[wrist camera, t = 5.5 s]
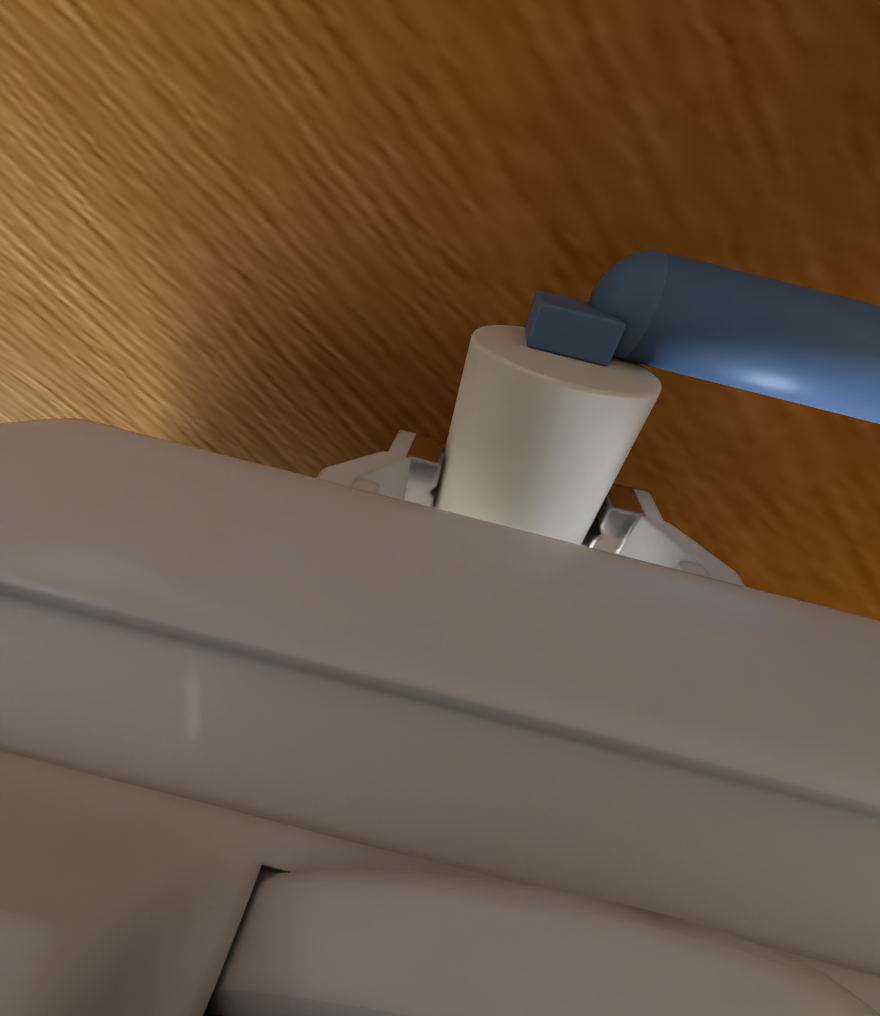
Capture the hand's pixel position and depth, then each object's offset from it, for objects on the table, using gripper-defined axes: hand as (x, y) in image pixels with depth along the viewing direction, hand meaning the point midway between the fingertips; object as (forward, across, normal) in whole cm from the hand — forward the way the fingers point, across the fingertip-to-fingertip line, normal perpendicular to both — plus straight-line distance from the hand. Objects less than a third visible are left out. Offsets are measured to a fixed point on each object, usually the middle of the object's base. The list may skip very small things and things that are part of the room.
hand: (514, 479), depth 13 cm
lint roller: (+2, -4, 0) cm, 4 cm away
